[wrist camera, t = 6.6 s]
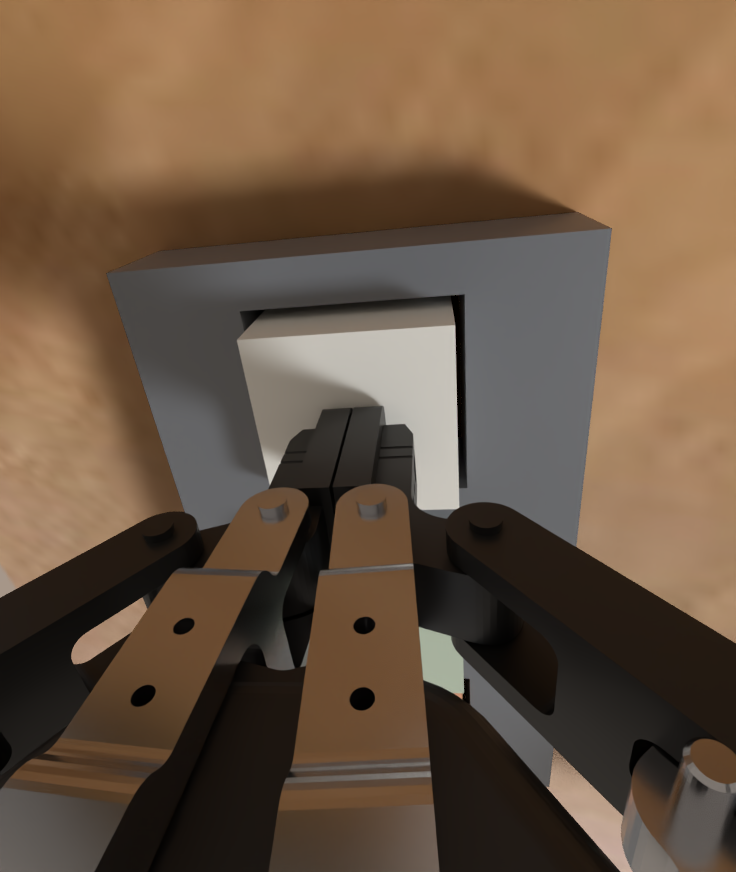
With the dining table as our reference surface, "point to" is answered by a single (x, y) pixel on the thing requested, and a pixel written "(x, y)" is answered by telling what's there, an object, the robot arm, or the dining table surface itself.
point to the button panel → (376, 281)
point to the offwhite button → (360, 378)
